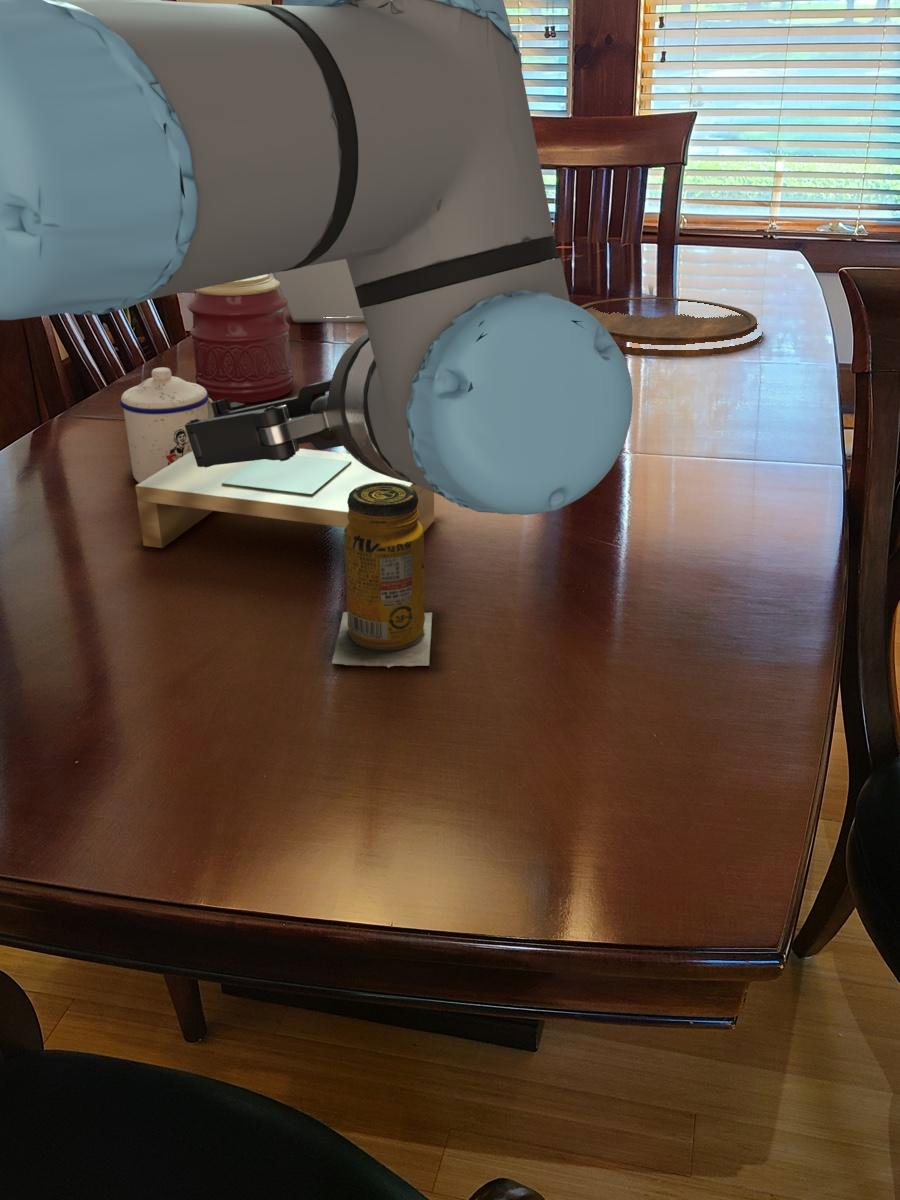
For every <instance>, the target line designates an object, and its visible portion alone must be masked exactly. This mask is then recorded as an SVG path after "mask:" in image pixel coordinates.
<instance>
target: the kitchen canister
mask: <svg viewBox="0 0 900 1200" xmlns="http://www.w3.org/2000/svg"><path fill="white" fill-rule="evenodd" d="M279 286H280V282H279V281H278V280H276V279H275V278H274V277H272V276H271V275H270V274H266V275H262V276H257V277H252V278H248V279H243V280H238V281H233V282H229V283H224V284H219V285H215V286H210V287H205V288H201V289H196V290H193V291H194V293H195V295H194V298H192V299H191V300H190V301H188V303H187V306H186V307H187V309H188V310H189V312H191V314H192V327H191V328H190V330H189V333H190V335H191V338H192V339H191V340H192V347H193V356H194V365H195V380H196V381H195V384H198V385H200V386H202V387H203V388H204V389H205V390H206V391H207V394H208V396H209V398H210V399H211V400H212V401H213V402H215V401H218V400H222V399H226V398H229V402H230V403H233V402H237V403H242V404H250V403H251V404H252V403H259V402H266V401H270V400H274V399H278V398H281V397H283V396H285V395H287V394H288V393H290V392H291V391H292V389H293V381H294V370H293V368H292V360H291V359H292V358H291V347H290V330H291V329H290V328H291V327H290V326H291V325H290V324H289V323H288V322H287V321H286V315H285V309H286V308H287V304H288V301H287V299H286V298H285V297H283V296H282V294H281V293H280V292H279V291H278V289H279Z"/></svg>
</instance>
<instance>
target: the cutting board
mask: <svg viewBox="0 0 900 1200" xmlns="http://www.w3.org/2000/svg"><path fill="white" fill-rule="evenodd" d="M635 299H636V300H637V299H663V300H677V301H688V302H697V303H704V304H709V305H714V306H719V307H722V308H726V309H729V310H732V311H735V312H737V313H739V314H741V315H740V316H739V315H738V316H737V315H735V316H734V315H733V316H732V314H731V315H730V316H729V315H728V316H727V317H724V318H723V317H720V316H719V318H718V317H716V318H715V317H713V318H712V317H711V318H710V317H709V318H704V317H702V318H701V317H700V318H698V317H697V318H695V317H694V316H692V317H691V316H689V315H687V316H686V315H685V314H683V315H684V316H683V315H682V314H680V315H678V314H677V315H675V314H673V313H672V314H673V315H672V314H670V315H669V314H667V315H665V314H664V315H665V316H662V317H657V318H656V317H653V318H652V317H650V318H648V317H647V318H646V317H643V316H641V317H639V316H637V317H635V316H634V315H631V316H630V314H629V315H628V314H625V315H624V313H623V314H621V313H619V312H617V313H615V312H613V313H611V314H608V313H609V312H608V313H605V312H604V313H603V312H600V311H598V310H595V309H596V308H594V309H593V307H594V306H597V305H600V304H604V303H609V302H617V301H625V300H635ZM578 306H579V307H581V308H583V309H584V310H586V311H587V312H588V313H590V314H591V315H592V316H594V317H595V318H596V319H597V320H598V321H599V322H600V323H601V325H602V326H603V327H604V328H605V329H606V330H607V331H608V332H609V334H610V335H611V336H612V338H613V339H614V340H620V341H624V342H632V343H638V344H651V345H686V344H695V343H705V342H717V341H724V340H731V339H736V338H742V337H743V336H746V335H748V334H750V333H751V332H754V330H755V329H757V325H758V324H759V323H758V324H757V322H758V319H757V317H756V316H755V315H753V314H752V313H750V312H748V311H747V310H744V309H742V308H739V307H735V306H731V305H727V304H723V303H719V302H713V301H706V300H698V299H690V298H689V299H688V298H677V297H676V298H675V297H655V296H653V297H623V298H611V299H604V300H597V301H593V302H589V303H588V302H587V303H585V304H582V305H578ZM742 315H743V316H742ZM725 316H726V315H725ZM762 335H763V336H764V331H763V332H762ZM762 335H761V336H759V337H758V338H757V339H755V340H753V341H750V342H747V343H744V344H739V345H735V346H729V347H722V348H713V349H699V350H658V349H643V348H632V347H624V346H618V347H619V349H620V351H621V352H622V353H623V354H628V355H629V354H630V355H639V356H652V357H703V356H702V355H707V356H713V355H712V354H718V355H723V354H722V353H725V354H730V353H729V352H732V353H737V352H740V350H741V351H744V349H745V350H747V348H748V349H750V348H749V347H751V348H753V347H755V346H757V345H758V344H760V342H761V341H762V340H761V339H763V336H762ZM760 340H761V341H760ZM759 341H760V342H759ZM757 343H758V344H757ZM756 344H757V345H756ZM754 345H755V346H754ZM752 346H753V347H752Z"/></svg>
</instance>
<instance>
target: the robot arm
mask: <svg viewBox="0 0 900 1200" xmlns="http://www.w3.org/2000/svg"><path fill="white" fill-rule="evenodd" d="M522 68H523V63H522V53H521V51H520V47H519V42H518V37H517V36H516V35H515V34H513V32H512V29H511V23H510V20H509V17H508V13H507V10H506V5H505V2H504V0H282V4H247V3H238V4H237V3H235V4H233V3H214V2H213V3H212V2H192V1H191V2H189V1H175V0H174V1H172V0H0V321H14V320H23V319H29V318H38V317H46V316H47V317H48V316H54V315H61V314H70V315H71V314H73V315H78V316H79V315H80V316H97V315H105V314H110V313H114V312H118V311H119V312H120V311H121V310H125V309H127V308H130V307H133V306H135V305H138V304H140V303H144V302H145V301H149V300H153V299H158V298H163V297H167V296H172V295H177V294H182V293H186V292H190V291H194V290H196V289H201V288H205V287H210V286H215V285H219V284H224V283H229V282H233V281H238V280H243V279H248V278H252V277H257V276H262V275H266V274H269V275H270V274H272V273H276V272H281V271H288V270H293V269H298V268H301V267H306V266H311V265H316V264H322V263H327V262H332V261H338V260H343V259H346V261H347V264H348V267H349V271H350V274H351V278H352V281H353V285H354V288H355V291H356V295H357V299H358V303H359V307H360V308H361V309H362V308H364V309H362V312H363V316H364V320H365V322H364V323H365V328H366V332H365V333H364V334H362V335H361V336H359V337H358V338H357V339H356V340H354V341H353V342H352V343H351V344H350V345H349V346H348V347H347V348H346V350H345V351H344V352H343V354H342V355H341V357H340V358H339V360H338V362H337V364H336V366H335V369H334V370H333V373H332V376H331V379H327V380H323V381H317V382H314V383H312V384H308V385H305V386H303V387H301V388H300V389H299V391H298V396H294V397H293V396H292V397H290V398H289V397H288V398H285V399H280V400H275V401H272V402H266V403H262V404H256V405H252V406H248V407H247V405H246V403H237V402H233V403H230V402H229V398H226V399H222V400H218V401H213V402H212V403H211V405H212V409H213V412H214V415H215V418H210V419H204V420H201V419H200V420H199V418H198V419H194V420H191V421H190V422H188V423H186V425H185V428H186V431H187V435H188V438H189V441H190V444H191V447H192V450H193V454H194V457H195V460H196V463H197V466H198V467H205V468H206V467H210V466H213V465H219V464H228V463H237V462H245V461H254V460H263V459H267V460H280V461H286V460H289V459H290V458H291V457H293V455H295V454H296V452H297V451H299V450H300V449H301V448H300V446H299V445H303V444H306V443H307V444H308V443H310V444H312V445H313V447H314V448H315V449H316V450H318V451H323V450H327V449H333V448H339V447H340V448H341V447H343V448H344V449H345V450H346V452H348V454H351V455H352V456H353V457H354V458H355V459H356V460H357V461H359V462H360V463H361V464H363V465H364V466H366V467H367V468H369V469H371V470H373V471H375V472H378V473H380V474H383V475H386V476H389V477H391V478H394V479H398V480H402V481H406V482H410V483H413V484H414V485H417V486H420V487H422V488H424V489H427V490H429V491H431V492H434V494H436V495H438V496H441V497H443V498H444V499H445V500H447V501H448V502H451V503H453V504H457V505H458V507H459V508H463V509H468V510H472V511H475V512H477V513H489V514H490V513H491V514H499V515H519V516H520V515H522V516H527V515H538V514H543V513H549V512H556V511H558V510H560V509H561V508H563V507H566V506H568V505H570V504H572V503H574V502H576V501H577V500H579V499H581V498H582V497H584V496H585V495H587V494H588V493H590V492H591V491H592V490H593V489H594V488H596V486H597V485H598V484H599V483H600V482H601V481H603V479H604V478H605V477H606V476H607V474H608V473H609V472H610V471H611V469H612V467H614V464H615V463H616V461H617V459H618V458H619V456H620V454H621V452H622V451H623V448H624V446H625V444H626V441H627V437H628V433H629V430H630V427H631V426H630V425H631V422H632V416H633V415H632V414H633V400H634V396H633V385H632V378H631V373H630V370H629V367H628V363H627V361H626V358H625V355H624V353H622V352H621V351H620V349H619V347H618V346H617V344H616V342H615V341H614V339H613V338H612V336H611V335H610V334H609V332H608V331H607V330H606V329H605V328H604V327H603V326H602V325H601V323H600V322H599V321H598V320H597V319H596V318H595V317H594V316H592V315H591V314H590V313H588V312H587V311H586V310H584V309H583V308H581V307H579V306H580V305H577V304H575V303H573V302H571V301H570V296H569V291H568V286H567V281H566V277H565V273H564V267H563V263H562V258H561V257H559V253H558V249H557V244H556V239H555V232H554V227H553V222H552V217H551V213H550V207H549V202H548V196H547V193H546V188H545V181H544V177H543V173H542V165H541V162H540V156H539V152H538V146H537V140H536V135H535V130H534V126H533V121H532V115H531V111H530V105H529V99H528V96H527V91H526V90H527V89H526V85H525V80H524V74H523V70H522ZM377 304H378V305H377ZM373 305H374V306H373ZM369 306H371V307H369ZM365 307H367V308H365ZM327 392H328V393H327ZM326 393H327V394H326ZM299 448H300V449H299Z"/></svg>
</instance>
